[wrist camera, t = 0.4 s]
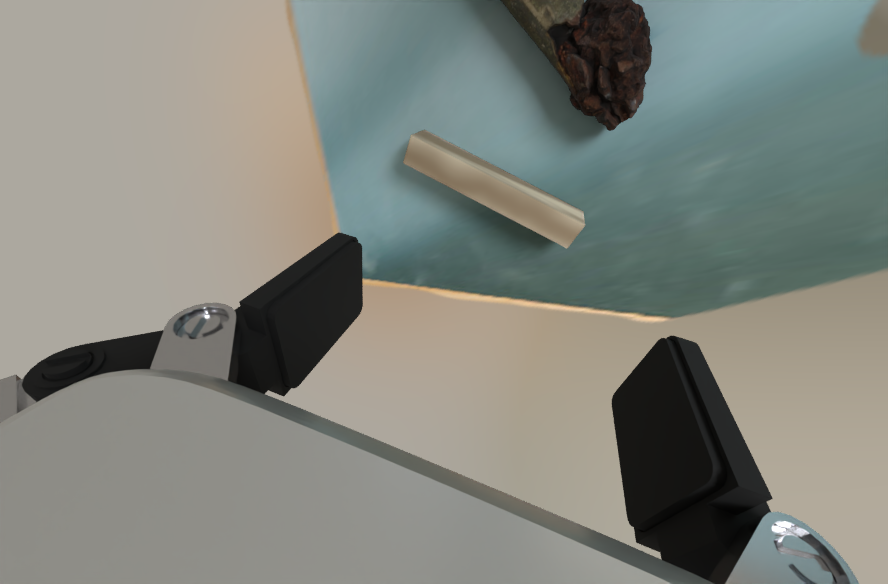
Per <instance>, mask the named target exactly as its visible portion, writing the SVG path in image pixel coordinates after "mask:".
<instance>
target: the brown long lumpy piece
mask: <svg viewBox="0 0 888 584" xmlns="http://www.w3.org/2000/svg"><path fill="white" fill-rule="evenodd" d="M501 1H502V2H503V3H504V5H505V6H506V7H507V9H508V10H509V11H510V13H511V14H512V15H513V16H514V18H515V19H516V20H517V21H518V22H519V24H520V25H521V26H522V27H523V28H524V30H525V31H526V32H527V33H528V35H529V36H530V37H531V38H532V40H533V41H534V42H535V43H536V45H537V46H538V47H539V48H540V50H541V51H542V52H543V53H544V54H545V56H546V57H547V58H548V59H549V61H550V63H551V64H552V65H553V66H554V68H555V69H556V70H557V71H558V73H559V74H560V75H561V77H562V78H563V79H564V81H565V82H566V84H567V85H568V87H569V90H570V91H571V93H572V94H571V96H570V101H571V103H572V105H573V106H574V107H575V108H576V109H577V110H581V111H582V112H583V113H584V115H588V116H595V117H596V119H597V121H598V122H599V123H602V124H603V125H605V126H606V127H607V130H609V131H611V130H614V129H615V128H616V126H617V125H619V124H620V123H621V122H623V121H625V120H627V119H628V118H632V117H633V115H634V114H635V113H636V112H637V108H638V107H639V105H640V104H641V103H642V101H643V89H644V87H645V84H646V83H645V73H646V72H647V70H648V69H649V67H650V65H651V52H652V46H651V44H650V39H649V36H650V27H649V26H648V21H647V19H646V18H645V13H644V12H643V8H642V6H640V5H637V4H635V3H634V2H633V1H632V0H586V2H585V3H584V0H501Z"/></svg>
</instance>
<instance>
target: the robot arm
mask: <svg viewBox="0 0 888 584" xmlns="http://www.w3.org/2000/svg"><path fill="white" fill-rule="evenodd" d="M362 298H363V297H362V245H361V244H360V243H358V240H357V238H356V237H353V236H349V235H346V234H343V233H337V234H335V235H334V236H333V237H331V238H330V239H328V240H327V241H325V242H324V243H323V244H321V245H320V246H318V247H317V248H315V249H314V250H313V251H311V252H310V253H308V254H307V255H306V256H304V257H303V258H301V259H300V260H298V261H297V262H295V263H294V264H293V265H291V266H290V267H289V268H287V269H286V270H284V271H283V272H281V273H280V274H279V275H277V276H276V277H274V278H273V279H271V280H270V281H269V282H267V283H266V284H264V285H263V286H261V287H260V288H258V289H257V290H256V291H254V292H253V293H251V294H250V295H249V296H247V297H246V298H244V299H243V300H241V301H240V305H241V306H240V307H238V308H237V309H236V310H233V308H232V307H230V306H228V305H225V304H220V303H205V304H200V305H196V306H192V307H190V308H187V309H185V310H183V311H181V312H179V313H177V314H176V315H175V316H174V317H172V318H171V319H170V320H169V322H168V323H167V325H166V326H165V329H164V330H162V331H157V332H151V333H146V334H140V335H135V336H129V337H123V338H118V339H112V340H106V341H101V342H95V343H90V344H84V345H79V346H75V347H71V348H68V349H65V350H63V351H60V352H58V353H55V354H53V355H51V356H49V357H47V358H46V359H44V360H42V361H41V362H39V363H38V364H37V365H35V366H34V367H33V368H32V369H30V371H29V372H28V373H27V374H26V376H25V377H24V378H23V379H20V378H19V377H18V376H17V375H13V376H10V377H7V378H4V379H1V380H0V584H859V583H858V580H857V579H856V577H855V575H854V574H853V572H852V571H851V569H850V567H849V566H848V564H847V563H846V562H845V561H844V559H843V558H842V557H841V556H840V555H839V553H838V552H837V551H836V550H835V549H834V548H833V547H832V546H831V545H830V544H829V543H828V542H827V541H826V540H825V539H824V538H823V537H822V536H820V534H819V533H817V532H816V531H814V530H813V529H812V528H810V527H809V526H808V525H806V524H805V523H803V522H802V521H800V520H798V519H796V518H794V517H792V516H790V515H787V514H784V513H781V512H771V511H770V509H769V506H768V505H767V501H768V500H771V499H772V496H771V494H770V492H769V490H768V488H767V486H766V484H765V482H764V480H763V478H762V476H761V473H760V472H759V469H758V467H757V465H756V463H755V461H754V459H753V457H752V455H751V453H750V451H749V449H748V447H747V445H746V443H745V440H744V439H743V437H742V434H741V432H740V430H739V428H738V426H737V424H736V422H735V420H734V418H733V416H732V414H731V412H730V409H729V408H728V405H727V403H726V401H725V399H724V397H723V395H722V393H721V391H720V389H719V387H718V385H717V383H716V381H715V379H714V377H713V374H712V372H711V371H710V368H709V366H708V364H707V362H706V360H705V358H704V356H703V354H702V352H701V350H700V348H699V346H698V344H697V343H695V342H692V341H689V340H686V339H683V338H679V337H676V336H670V337H667V338H666V339H665V338H661V339H660V340H658V341H657V343H656V344H655V345H654V346H653V347H652V349H651V350H650V351H649V352H648V353H647V355H646V356H645V357H644V358H643V360H642V361H641V362H640V363H639V364H638V365H637V367H636V368H635V369H634V370H633V371H632V373H631V374H630V375H629V376H628V377H627V379H626V380H625V381H624V382H623V383H622V385H621V386H620V387H619V388H618V389H617V391H616V392H615V393H614V395H613V398H612V410H613V417H614V424H615V431H616V439H617V446H618V453H619V460H620V468H621V475H622V482H623V490H624V497H625V505H626V512H627V518H628V521H629V524H630V525H631V526H633V527H634V530H635V538H636V542H637V543H639V544H641V545H644V546H646V547H649V548H651V549H653V550H656V551H658V552H660V553H661V558H662V560H661V559H658V558H656V557H654V556H651V555H649V554H647V553H644V552H643V551H640V550H638V549H636V548H633V547H631V546H629V545H627V544H624V543H622V542H620V541H617V540H615V539H613V538H610V537H608V536H606V535H603V534H601V533H598V532H596V531H594V530H591V529H589V528H587V527H584V526H582V525H580V524H577V523H574V522H572V521H570V520H568V519H565V518H563V517H560V516H558V515H556V514H553V513H551V512H549V511H546V510H544V509H541V508H539V507H537V506H535V505H532V504H530V503H527V502H525V501H522V500H520V499H518V498H516V497H513V496H511V495H508V494H506V493H504V492H501V491H498V490H496V489H494V488H491V487H489V486H487V485H484V484H482V483H479V482H477V481H474V480H473V479H470V478H468V477H465V476H463V475H461V474H458V473H456V472H453V471H451V470H449V469H446V468H443V467H441V466H439V465H437V464H434V463H431V462H429V461H427V460H424V459H422V458H420V457H417V456H415V455H412V454H410V453H408V452H405V451H403V450H400V449H398V448H396V447H393V446H391V445H388V444H386V443H384V442H381V441H379V440H376V439H374V438H371V437H369V436H367V435H364V434H361V433H359V432H357V431H354V430H352V429H349V428H347V427H345V426H342V425H340V424H337V423H335V422H332V421H330V420H328V419H325V418H322V417H320V416H317V415H315V414H313V413H310V412H308V411H306V410H303V409H301V408H298V407H296V406H293V405H291V404H288V403H285V402H283V401H280V400H278V399H275V398H273V397H270V396H268V395H265V393H266V392H267V391H268V390H269V391H272V392H274V393H277V394H279V395H282V396H285V395H286V393H287V392H288V391H289V390H290V389H291V388H296V387H297V386H299V385H300V384H301V382H302V381H303V380H304V379H305V378H306V377H307V375H308V374H309V373H310V372H311V371H312V370H313V368H314V367H315V366H316V365H317V364H318V362H319V361H320V360H321V359H322V358H323V356H325V354H326V353H327V352H328V351H329V350H330V348H331V347H332V346H333V345H334V344H335V343H336V341H337V340H338V339H339V338H340V337H341V336H342V334H343V333H344V332H345V331H346V330H347V329H348V327H349V326H350V325H351V324H352V323H353V322H354V320H355V319H356V318H357V317H358V316H359V314H360V312H361V310H362V306H363V301H362V300H363V299H362Z"/></svg>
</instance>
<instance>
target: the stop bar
mask: <svg viewBox="0 0 888 584" xmlns="http://www.w3.org/2000/svg"><path fill="white" fill-rule="evenodd" d="M403 163H404V164H406V165H408V166H410V167H412V168H414V169H415V170H417V171H419V172H421V173H423V174H425V175H427V176H429V177H431V178H433V179H435V180H437V181H438V182H440V183H442V184H444V185H446V186H448V187H450V188H452V189H454V190H456V191H458V192H460V193H462V194H463V195H465V196H467V197H469V198H471V199H473V200H475V201H477V202H479V203H481V204H483V205H485V206H487V207H488V208H490V209H492V210H494V211H496V212H498V213H500V214H502V215H504V216H506V217H508V218H510V219H512V220H513V221H515V222H517V223H519V224H521V225H523V226H525V227H527V228H529V229H531V230H533V231H535V232H537V233H538V234H540V235H542V236H544V237H546V238H548V239H550V240H552V241H554V242H556V243H558V244H560V245H562V246H563V247H565V248H568V247H569V246H570V244H571V243H572V242H573V240H574V239H575V238H576V237H577V235H578V234H579V233H580V231H581V230H582V229H583V227H584V226H585V221H584V213H583V211H581V210H579V209H577V208H575V207H573V206H571V205H569V204H568V203H566V202H564V201H562V200H560V199H558V198H556V197H554V196H552V195H550V194H548V193H546V192H544V191H542V190H540V189H539V188H537V187H535V186H533V185H531V184H529V183H527V182H525V181H523V180H521V179H519V178H517V177H515V176H513V175H511V174H510V173H508V172H506V171H504V170H502V169H500V168H498V167H496V166H494V165H492V164H490V163H488V162H486V161H484V160H482V159H481V158H479V157H477V156H475V155H473V154H471V153H469V152H467V151H465V150H463V149H461V148H459V147H457V146H455V145H454V144H452V143H450V142H448V141H446V140H444V139H442V138H440V137H438V136H436V135H434V134H432V133H430V132H428V131H426V130H423V131H420V132H418V133H415V134H413V135H411V137H410V140H409V144H408V147H407V151H406V154H405V158H404V161H403Z"/></svg>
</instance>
